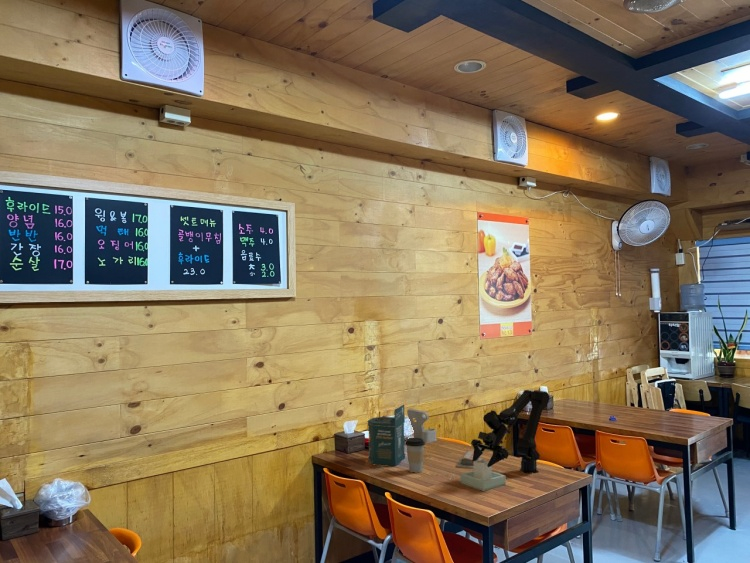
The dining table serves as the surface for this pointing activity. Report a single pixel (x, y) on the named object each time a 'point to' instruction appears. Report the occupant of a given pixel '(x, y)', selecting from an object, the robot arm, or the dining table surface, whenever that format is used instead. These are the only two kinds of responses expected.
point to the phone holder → (421, 425)
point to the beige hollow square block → (482, 470)
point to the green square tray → (483, 481)
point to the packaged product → (467, 460)
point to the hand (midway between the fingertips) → (480, 464)
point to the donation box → (387, 439)
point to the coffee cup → (415, 454)
